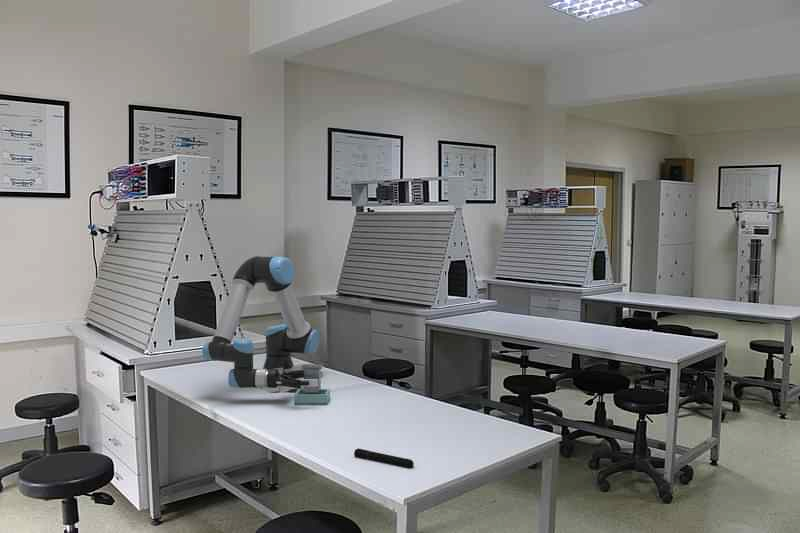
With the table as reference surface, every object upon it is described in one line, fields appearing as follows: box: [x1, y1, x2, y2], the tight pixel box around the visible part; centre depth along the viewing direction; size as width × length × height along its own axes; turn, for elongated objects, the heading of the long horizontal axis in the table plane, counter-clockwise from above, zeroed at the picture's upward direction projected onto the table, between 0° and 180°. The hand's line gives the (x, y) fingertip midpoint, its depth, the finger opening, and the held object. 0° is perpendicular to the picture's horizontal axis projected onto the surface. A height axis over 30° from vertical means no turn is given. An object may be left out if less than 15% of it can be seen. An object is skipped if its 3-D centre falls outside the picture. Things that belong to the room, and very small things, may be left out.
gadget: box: [353, 448, 415, 469], centre depth 185 cm, size 2×2×20 cm
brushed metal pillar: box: [301, 363, 324, 394], centre depth 246 cm, size 4×8×14 cm, turn 89°
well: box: [293, 388, 331, 406], centre depth 247 cm, size 9×13×4 cm
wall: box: [266, 364, 304, 393], centre depth 268 cm, size 16×9×15 cm
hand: (320, 378), depth 246 cm, fingers open, 13 cm apart
